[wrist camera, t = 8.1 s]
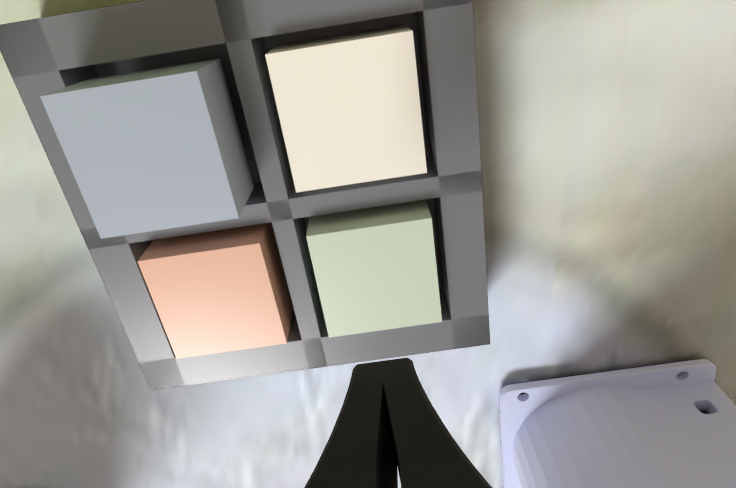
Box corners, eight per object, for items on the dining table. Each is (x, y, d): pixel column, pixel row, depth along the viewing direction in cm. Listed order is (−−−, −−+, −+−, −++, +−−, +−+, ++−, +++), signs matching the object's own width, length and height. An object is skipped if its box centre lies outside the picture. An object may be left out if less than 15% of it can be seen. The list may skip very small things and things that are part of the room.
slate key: (220, 58, 15) (196, 71, 13) (254, 186, 17) (238, 217, 14) (86, 80, 15) (40, 96, 13) (134, 205, 17) (100, 238, 15)
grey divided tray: (452, -49, 16) (469, -55, 13) (475, 306, 21) (490, 344, 19) (39, 21, 16) (-11, 26, 14) (171, 349, 22) (151, 390, 20)
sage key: (421, 189, 18) (431, 217, 16) (432, 284, 20) (442, 321, 18) (311, 206, 19) (305, 236, 16) (331, 298, 20) (329, 337, 18)
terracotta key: (270, 212, 19) (259, 243, 16) (293, 304, 20) (286, 343, 18) (162, 228, 19) (137, 261, 16) (195, 318, 21) (176, 358, 18)
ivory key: (404, 24, 16) (412, 30, 14) (417, 149, 18) (426, 173, 15) (276, 44, 16) (265, 54, 14) (303, 166, 18) (296, 192, 16)
